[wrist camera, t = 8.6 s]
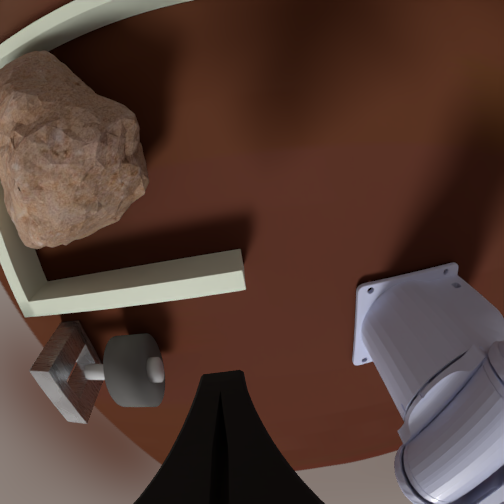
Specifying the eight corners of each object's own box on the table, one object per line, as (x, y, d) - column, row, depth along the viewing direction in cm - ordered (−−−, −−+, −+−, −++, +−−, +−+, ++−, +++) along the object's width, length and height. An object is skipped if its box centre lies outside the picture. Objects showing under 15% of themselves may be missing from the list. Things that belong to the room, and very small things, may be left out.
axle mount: (79, 320, 20) (48, 371, 15) (107, 371, 22) (87, 423, 17) (61, 321, 20) (29, 370, 15) (89, 371, 22) (67, 421, 17)
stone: (176, 180, 19) (190, 86, 9) (91, 297, 17) (17, 303, 7) (59, 96, 17) (24, 4, 7) (-18, 190, 15) (-96, 136, 5)
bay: (196, -16, 12) (191, -38, 9) (243, 266, 19) (245, 289, 16) (-10, 73, 12) (-35, 72, 9) (43, 296, 19) (25, 317, 16)
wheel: (154, 317, 20) (137, 369, 15) (175, 369, 22) (167, 420, 17) (85, 324, 20) (59, 370, 15) (111, 372, 22) (94, 418, 17)
